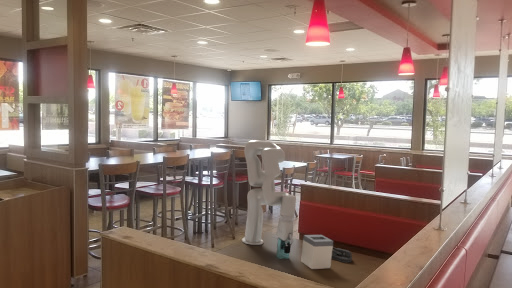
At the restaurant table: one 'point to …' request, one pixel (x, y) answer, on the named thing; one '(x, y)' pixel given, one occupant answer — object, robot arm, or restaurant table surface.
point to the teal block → (281, 250)
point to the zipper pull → (341, 255)
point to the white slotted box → (316, 251)
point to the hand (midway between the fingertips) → (283, 250)
